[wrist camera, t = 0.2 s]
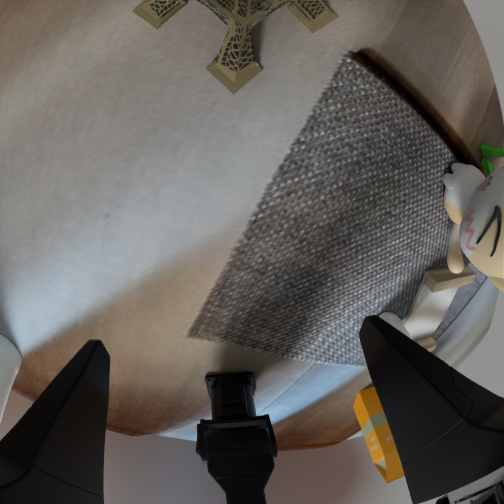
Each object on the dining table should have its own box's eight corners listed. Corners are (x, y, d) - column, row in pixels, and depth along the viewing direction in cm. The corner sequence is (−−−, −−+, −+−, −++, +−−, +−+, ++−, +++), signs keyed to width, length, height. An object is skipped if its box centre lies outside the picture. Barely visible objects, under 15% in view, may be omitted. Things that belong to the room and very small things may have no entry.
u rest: (427, 340, 38) (433, 350, 36) (387, 352, 37) (393, 364, 35) (465, 263, 29) (476, 274, 27) (425, 270, 28) (436, 283, 26)
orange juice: (358, 391, 43) (393, 480, 26) (398, 376, 43) (436, 457, 27) (352, 407, 47) (381, 486, 31) (388, 393, 48) (420, 467, 31)
